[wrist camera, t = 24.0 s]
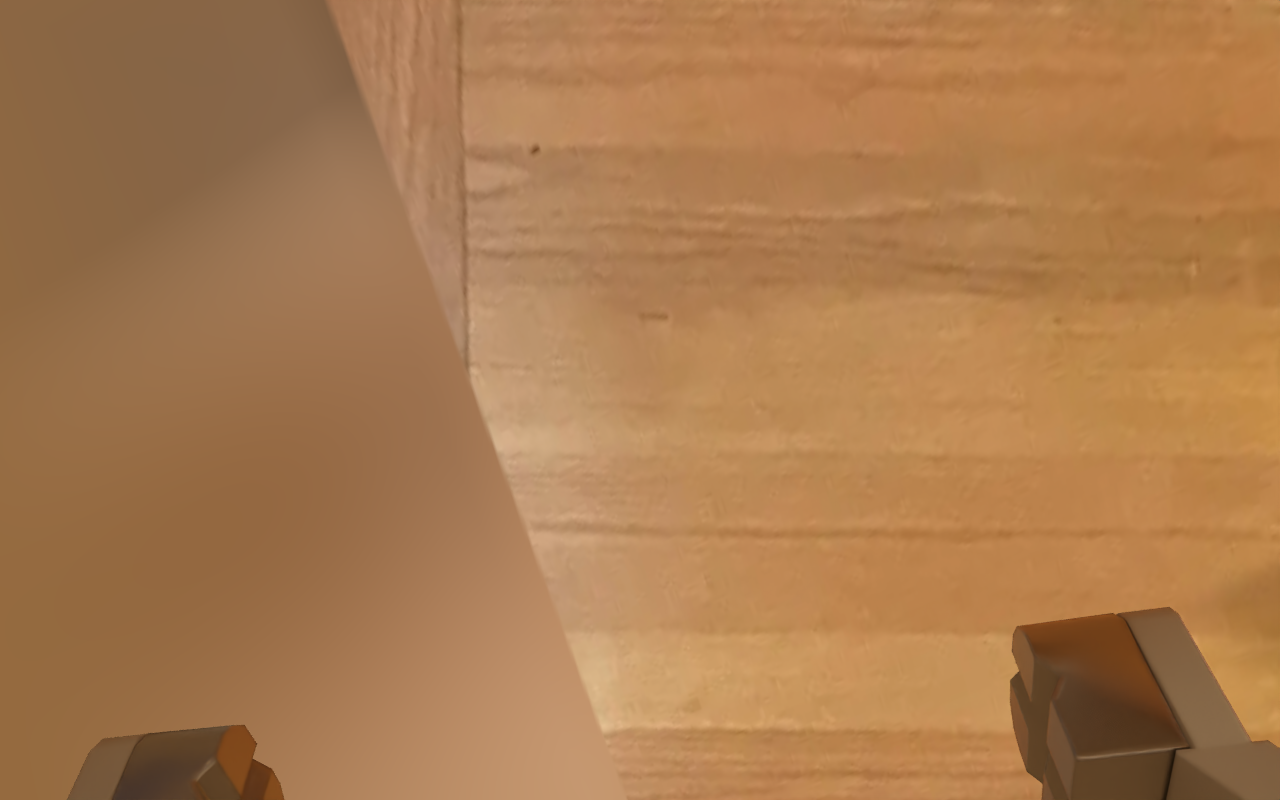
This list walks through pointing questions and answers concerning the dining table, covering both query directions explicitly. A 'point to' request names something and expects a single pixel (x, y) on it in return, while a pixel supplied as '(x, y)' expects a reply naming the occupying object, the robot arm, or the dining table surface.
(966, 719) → the dining table surface
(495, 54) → the dining table surface
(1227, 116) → the dining table surface
